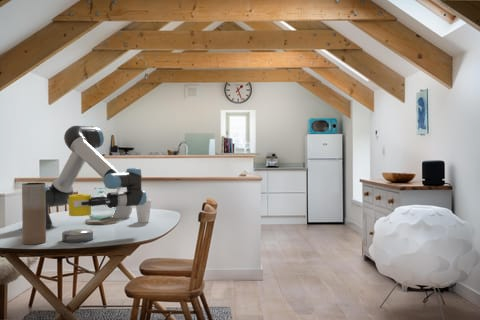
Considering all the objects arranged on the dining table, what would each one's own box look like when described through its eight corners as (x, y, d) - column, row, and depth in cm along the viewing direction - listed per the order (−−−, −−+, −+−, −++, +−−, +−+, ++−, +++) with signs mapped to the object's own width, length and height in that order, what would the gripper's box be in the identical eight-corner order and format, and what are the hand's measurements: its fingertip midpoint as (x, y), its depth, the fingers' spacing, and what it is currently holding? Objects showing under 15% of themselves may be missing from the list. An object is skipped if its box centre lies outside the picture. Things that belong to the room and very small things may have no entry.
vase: (18, 244, 208) (17, 184, 207) (31, 240, 218) (30, 182, 217) (37, 245, 206) (37, 184, 205) (50, 240, 216) (49, 182, 215)
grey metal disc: (58, 239, 220) (58, 231, 220) (88, 236, 228) (88, 228, 228) (66, 244, 208) (66, 235, 208) (96, 240, 216) (96, 232, 216)
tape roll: (68, 213, 222) (67, 194, 221) (89, 212, 226) (89, 193, 226) (70, 216, 213) (69, 196, 212) (92, 215, 217) (92, 195, 217)
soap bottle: (105, 218, 286) (104, 186, 285) (107, 216, 291) (107, 185, 290) (130, 218, 285) (130, 186, 285) (132, 216, 291) (132, 185, 290)
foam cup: (132, 221, 272) (132, 200, 271) (146, 220, 278) (146, 198, 277) (140, 223, 264) (140, 201, 264) (154, 221, 271) (154, 200, 270)
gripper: (124, 209, 221) (77, 213, 207) (108, 204, 239) (64, 208, 226) (124, 194, 220) (77, 197, 207) (108, 190, 239) (64, 193, 225)
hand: (70, 202), depth 216 cm, fingers closed on tape roll, 10 cm apart
